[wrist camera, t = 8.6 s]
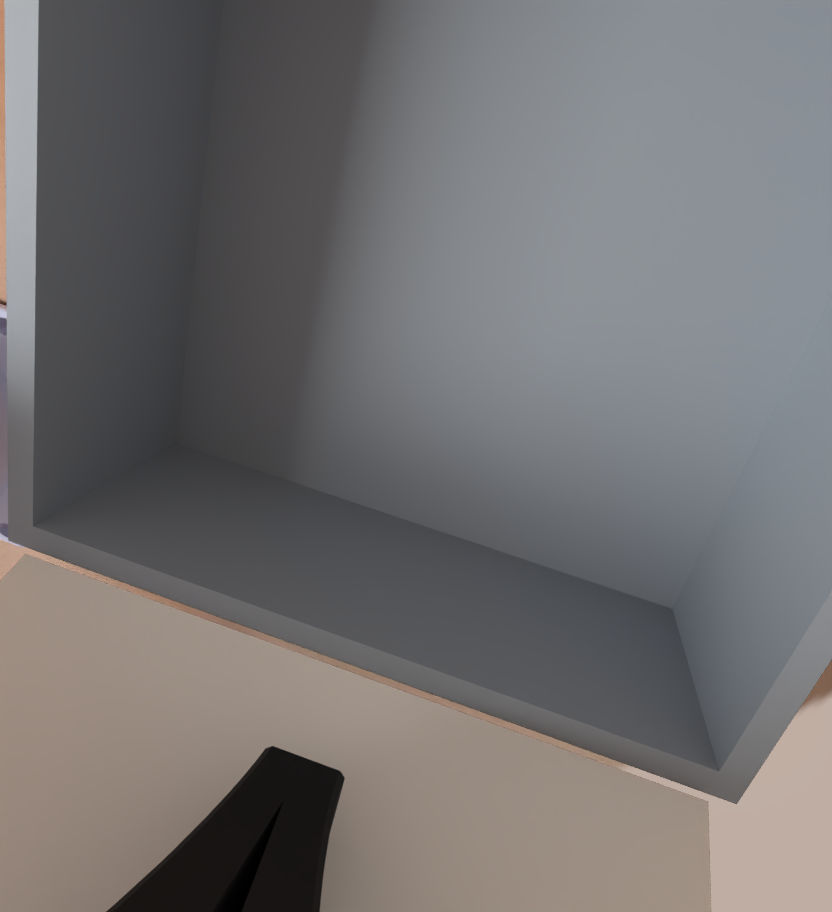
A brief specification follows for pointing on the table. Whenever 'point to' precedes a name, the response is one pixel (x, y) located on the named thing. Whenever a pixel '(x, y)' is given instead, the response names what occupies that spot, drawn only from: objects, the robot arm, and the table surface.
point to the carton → (443, 343)
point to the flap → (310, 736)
